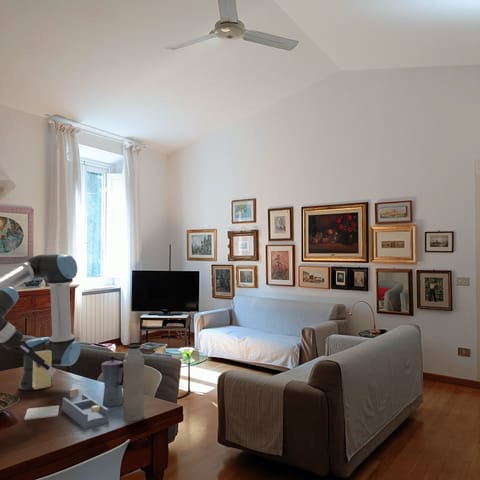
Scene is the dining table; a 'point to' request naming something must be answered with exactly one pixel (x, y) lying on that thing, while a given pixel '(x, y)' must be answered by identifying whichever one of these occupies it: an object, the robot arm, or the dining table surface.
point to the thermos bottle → (133, 384)
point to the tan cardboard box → (42, 371)
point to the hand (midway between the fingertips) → (51, 372)
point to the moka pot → (112, 382)
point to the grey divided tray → (85, 410)
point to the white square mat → (42, 412)
